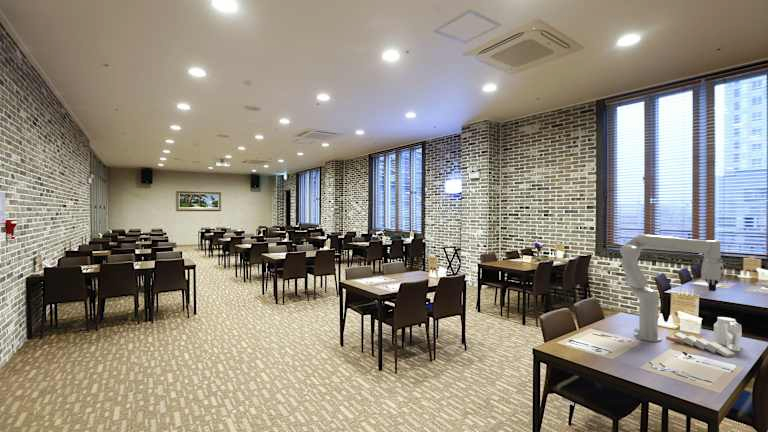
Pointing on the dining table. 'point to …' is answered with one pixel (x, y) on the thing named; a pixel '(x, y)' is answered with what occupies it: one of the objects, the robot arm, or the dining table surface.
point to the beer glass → (733, 335)
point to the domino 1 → (674, 339)
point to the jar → (721, 330)
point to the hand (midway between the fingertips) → (712, 290)
